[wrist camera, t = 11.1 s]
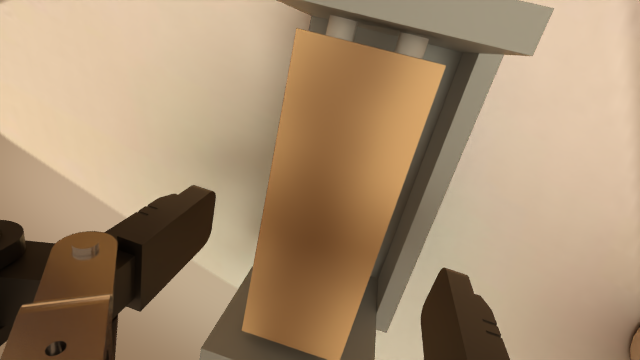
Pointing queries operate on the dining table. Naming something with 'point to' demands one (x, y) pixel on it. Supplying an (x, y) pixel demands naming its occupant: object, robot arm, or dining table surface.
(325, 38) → the shelf board
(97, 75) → the dining table surface
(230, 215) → the dining table surface
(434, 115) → the grey rack
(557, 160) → the dining table surface
